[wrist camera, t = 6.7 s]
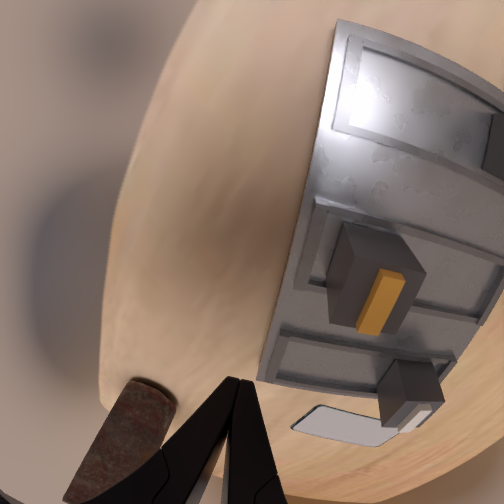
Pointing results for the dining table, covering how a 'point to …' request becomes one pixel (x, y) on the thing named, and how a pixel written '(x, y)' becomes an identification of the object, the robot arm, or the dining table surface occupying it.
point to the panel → (392, 212)
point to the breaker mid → (372, 281)
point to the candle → (123, 441)
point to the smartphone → (344, 426)
